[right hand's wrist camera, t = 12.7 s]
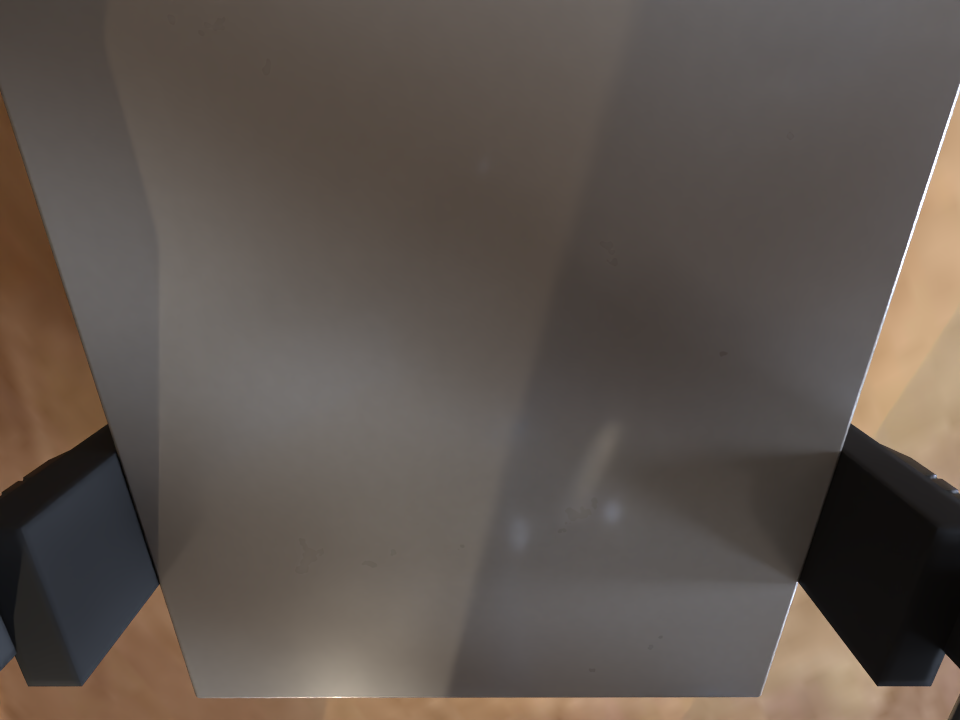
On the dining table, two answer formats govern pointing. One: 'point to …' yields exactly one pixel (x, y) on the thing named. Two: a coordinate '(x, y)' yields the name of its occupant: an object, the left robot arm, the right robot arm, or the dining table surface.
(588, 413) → the cabinet
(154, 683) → the dining table surface
